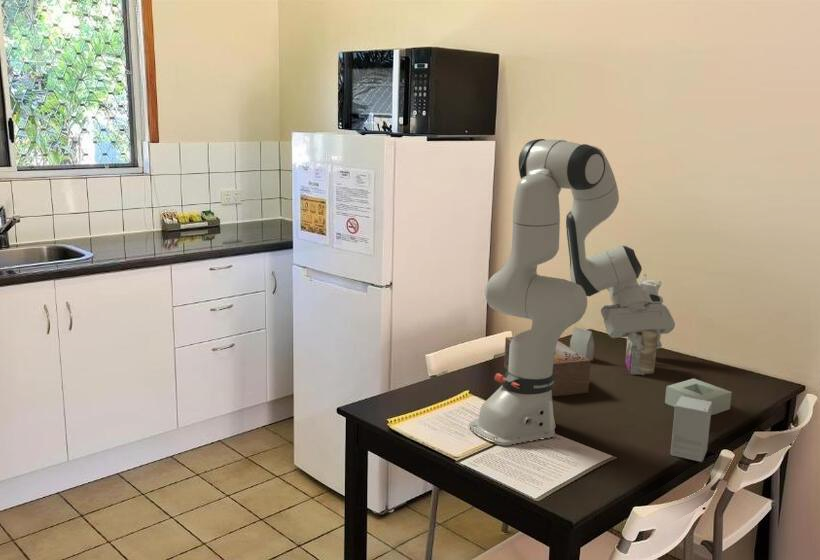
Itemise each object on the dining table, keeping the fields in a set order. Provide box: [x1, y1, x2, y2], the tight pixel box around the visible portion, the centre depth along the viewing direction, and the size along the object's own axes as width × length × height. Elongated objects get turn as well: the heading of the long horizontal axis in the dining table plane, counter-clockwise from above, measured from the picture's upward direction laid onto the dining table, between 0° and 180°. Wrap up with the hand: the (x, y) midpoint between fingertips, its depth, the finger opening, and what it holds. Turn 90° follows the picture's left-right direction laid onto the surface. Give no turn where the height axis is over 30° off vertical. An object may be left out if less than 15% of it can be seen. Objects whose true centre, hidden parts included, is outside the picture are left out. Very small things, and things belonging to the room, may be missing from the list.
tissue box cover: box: [503, 336, 592, 397], centre depth 219 cm, size 26×14×10 cm, turn 18°
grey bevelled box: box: [569, 326, 595, 361], centre depth 239 cm, size 4×7×10 cm, turn 38°
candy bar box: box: [624, 336, 646, 376], centre depth 229 cm, size 11×5×16 cm, turn 171°
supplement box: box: [670, 396, 712, 463], centre depth 173 cm, size 7×7×13 cm
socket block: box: [664, 378, 733, 416], centre depth 202 cm, size 12×12×5 cm
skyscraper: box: [638, 273, 662, 363], centre depth 239 cm, size 8×8×28 cm
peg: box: [638, 330, 658, 375], centre depth 197 cm, size 4×4×11 cm
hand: (650, 348), depth 196 cm, fingers closed on peg, 4 cm apart
